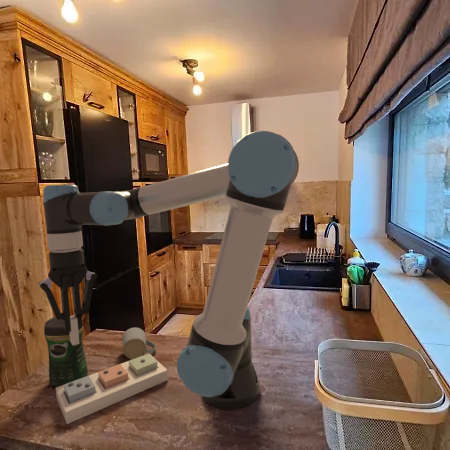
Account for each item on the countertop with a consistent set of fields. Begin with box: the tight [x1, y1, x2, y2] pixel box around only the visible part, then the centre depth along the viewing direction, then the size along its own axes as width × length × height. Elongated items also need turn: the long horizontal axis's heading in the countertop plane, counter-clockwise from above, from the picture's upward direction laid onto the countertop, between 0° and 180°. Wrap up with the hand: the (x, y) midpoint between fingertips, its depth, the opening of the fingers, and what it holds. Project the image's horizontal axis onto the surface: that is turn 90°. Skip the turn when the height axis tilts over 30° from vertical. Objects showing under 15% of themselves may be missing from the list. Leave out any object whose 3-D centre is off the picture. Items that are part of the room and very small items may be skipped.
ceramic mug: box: [121, 327, 157, 360], centre depth 105 cm, size 11×8×8 cm
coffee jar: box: [43, 316, 89, 387], centre depth 91 cm, size 10×8×19 cm
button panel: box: [55, 354, 169, 425], centre depth 86 cm, size 12×26×3 cm, turn 128°
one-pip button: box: [128, 353, 158, 376], centre depth 91 cm, size 6×6×3 cm
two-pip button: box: [98, 363, 128, 389], centre depth 86 cm, size 6×6×3 cm
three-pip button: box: [64, 375, 96, 404], centre depth 81 cm, size 6×6×3 cm
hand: (74, 342), depth 80 cm, fingers closed
